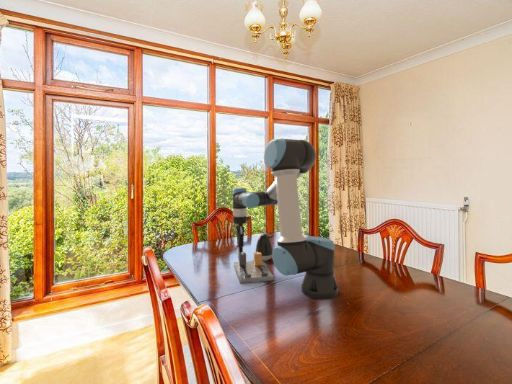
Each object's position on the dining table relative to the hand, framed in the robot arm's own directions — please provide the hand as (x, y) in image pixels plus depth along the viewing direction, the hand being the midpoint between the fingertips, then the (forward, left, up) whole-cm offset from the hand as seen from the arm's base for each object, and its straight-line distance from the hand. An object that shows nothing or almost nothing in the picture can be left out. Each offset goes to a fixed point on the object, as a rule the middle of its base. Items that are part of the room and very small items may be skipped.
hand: (240, 258), depth 156 cm
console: (-14, -4, -3) cm, 15 cm away
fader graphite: (-7, 0, -1) cm, 8 cm away
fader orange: (-9, -8, -1) cm, 12 cm away
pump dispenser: (+5, -15, -4) cm, 16 cm away
